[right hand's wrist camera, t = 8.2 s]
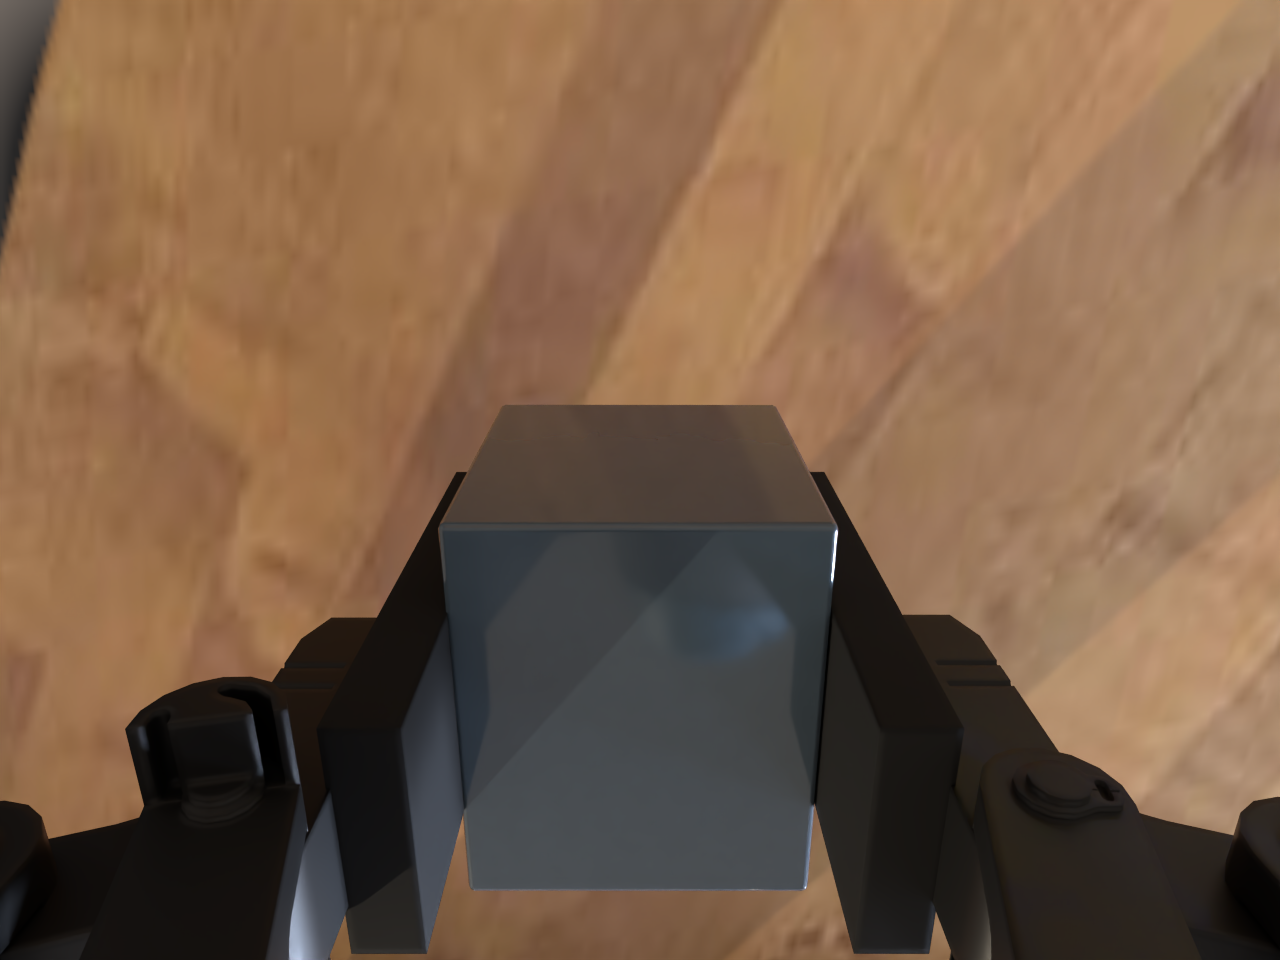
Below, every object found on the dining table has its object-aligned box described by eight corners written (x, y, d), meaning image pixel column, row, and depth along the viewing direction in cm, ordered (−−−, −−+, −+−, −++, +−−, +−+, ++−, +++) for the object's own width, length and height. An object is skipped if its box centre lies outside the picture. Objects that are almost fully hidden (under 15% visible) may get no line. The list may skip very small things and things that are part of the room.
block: (500, 403, 14) (435, 524, 9) (776, 403, 14) (840, 525, 9) (516, 681, 16) (467, 893, 11) (761, 682, 16) (807, 893, 11)
